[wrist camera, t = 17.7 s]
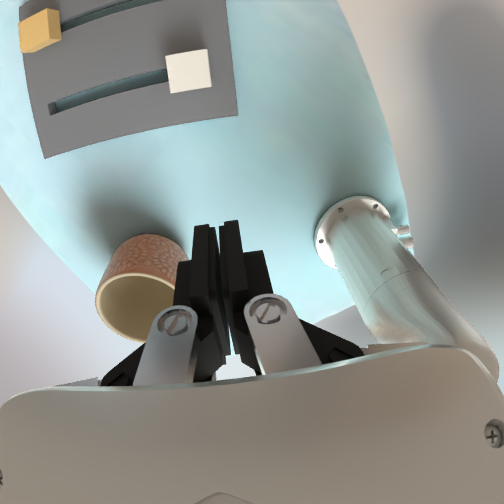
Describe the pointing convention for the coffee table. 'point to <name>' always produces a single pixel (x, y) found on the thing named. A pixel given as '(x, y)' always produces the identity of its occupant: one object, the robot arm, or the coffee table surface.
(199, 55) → the block
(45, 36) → the block
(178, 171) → the coffee table surface
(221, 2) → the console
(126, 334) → the planter
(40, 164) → the coffee table surface
